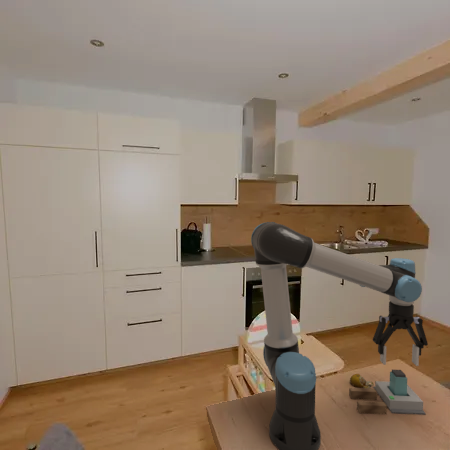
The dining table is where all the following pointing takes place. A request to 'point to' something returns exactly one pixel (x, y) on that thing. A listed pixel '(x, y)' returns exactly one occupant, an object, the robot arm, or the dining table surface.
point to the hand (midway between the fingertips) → (398, 363)
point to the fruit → (359, 381)
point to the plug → (398, 383)
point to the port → (399, 400)
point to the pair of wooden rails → (367, 406)
